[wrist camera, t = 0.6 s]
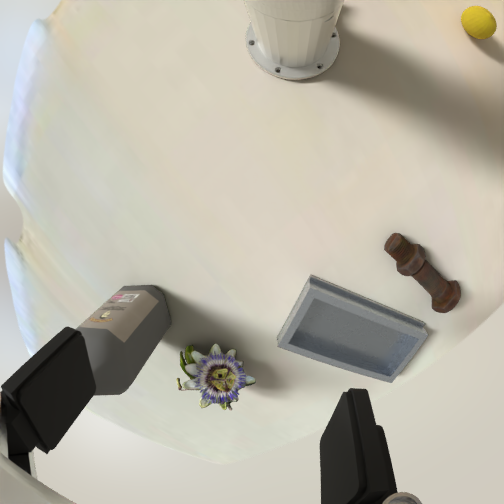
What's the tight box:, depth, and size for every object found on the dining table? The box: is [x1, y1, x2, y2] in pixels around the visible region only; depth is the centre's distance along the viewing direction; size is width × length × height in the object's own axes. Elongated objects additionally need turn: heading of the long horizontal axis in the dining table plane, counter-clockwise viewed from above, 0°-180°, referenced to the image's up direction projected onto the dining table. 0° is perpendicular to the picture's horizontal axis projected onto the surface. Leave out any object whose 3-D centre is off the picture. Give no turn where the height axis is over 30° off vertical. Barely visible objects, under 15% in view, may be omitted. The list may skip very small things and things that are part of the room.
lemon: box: [461, 6, 497, 39], centre depth 22 cm, size 6×6×8 cm
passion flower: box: [176, 344, 256, 410], centre depth 46 cm, size 11×11×12 cm
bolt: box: [384, 233, 461, 313], centre depth 37 cm, size 6×5×15 cm
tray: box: [277, 275, 428, 383], centre depth 42 cm, size 12×22×3 cm, turn 68°
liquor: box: [76, 285, 171, 395], centre depth 33 cm, size 9×9×30 cm
